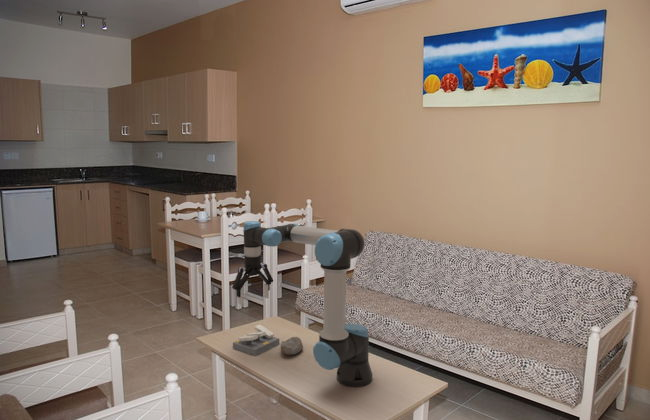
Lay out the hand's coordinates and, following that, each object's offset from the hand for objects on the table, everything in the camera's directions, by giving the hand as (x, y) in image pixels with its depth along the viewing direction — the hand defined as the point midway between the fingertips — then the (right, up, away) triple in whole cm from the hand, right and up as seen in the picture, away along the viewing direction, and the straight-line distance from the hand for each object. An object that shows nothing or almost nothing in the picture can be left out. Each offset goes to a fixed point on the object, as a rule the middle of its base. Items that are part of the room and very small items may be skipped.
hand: (253, 300), depth 226 cm
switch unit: (-1, -25, +16) cm, 30 cm away
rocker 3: (+2, -19, +20) cm, 27 cm away
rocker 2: (-1, -20, +15) cm, 25 cm away
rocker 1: (-4, -20, +11) cm, 23 cm away
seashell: (+17, -26, +9) cm, 33 cm away
